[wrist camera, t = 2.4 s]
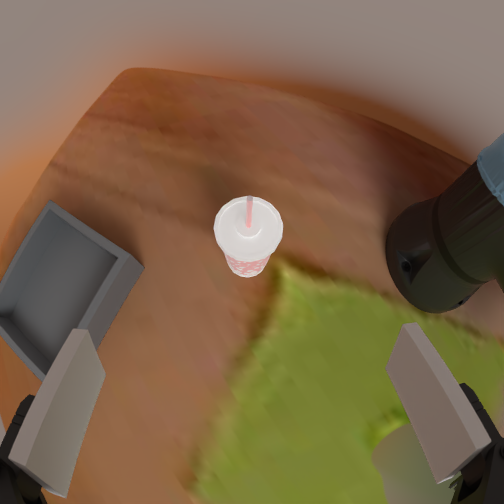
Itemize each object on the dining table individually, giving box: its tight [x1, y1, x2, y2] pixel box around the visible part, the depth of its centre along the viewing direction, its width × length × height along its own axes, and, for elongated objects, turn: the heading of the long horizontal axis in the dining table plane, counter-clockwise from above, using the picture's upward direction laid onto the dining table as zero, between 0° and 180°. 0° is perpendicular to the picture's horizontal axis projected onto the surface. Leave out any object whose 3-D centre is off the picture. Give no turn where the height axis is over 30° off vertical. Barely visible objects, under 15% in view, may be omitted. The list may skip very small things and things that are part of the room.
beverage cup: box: [214, 196, 283, 277], centre depth 28 cm, size 6×6×14 cm
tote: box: [0, 200, 144, 382], centre depth 30 cm, size 18×15×5 cm
